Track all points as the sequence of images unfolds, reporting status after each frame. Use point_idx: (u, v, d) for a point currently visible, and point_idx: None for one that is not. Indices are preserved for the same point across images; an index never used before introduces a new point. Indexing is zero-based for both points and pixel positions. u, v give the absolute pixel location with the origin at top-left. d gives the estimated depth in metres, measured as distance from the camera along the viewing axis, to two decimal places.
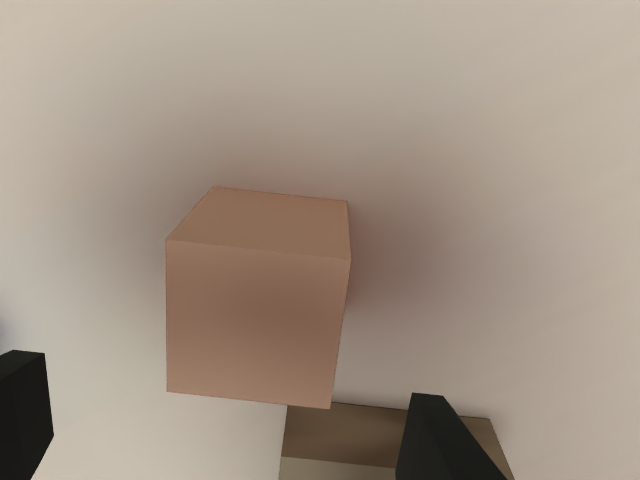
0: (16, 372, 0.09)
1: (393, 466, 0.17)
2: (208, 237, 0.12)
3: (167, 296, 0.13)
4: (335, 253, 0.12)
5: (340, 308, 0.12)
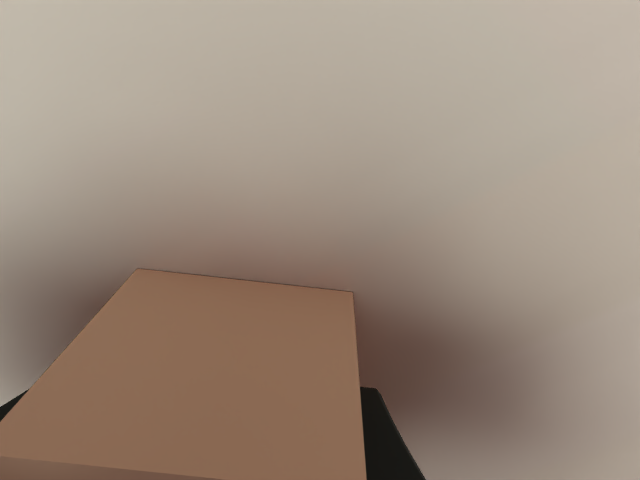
0: None
1: None
2: (74, 433, 0.06)
3: None
4: (334, 470, 0.06)
5: None
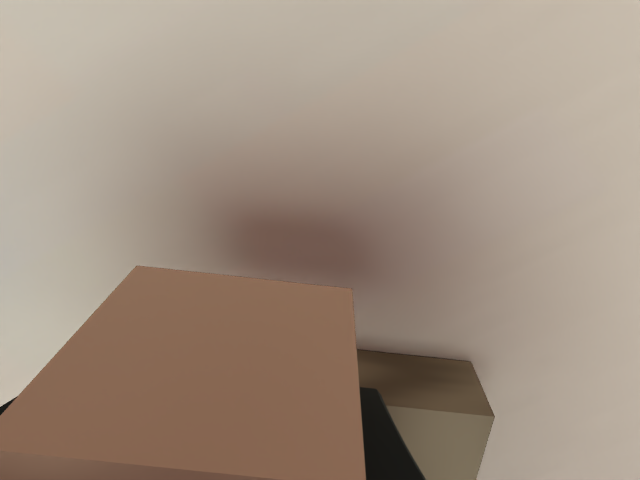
0: None
1: None
2: (73, 428, 0.06)
3: None
4: (332, 464, 0.06)
5: None
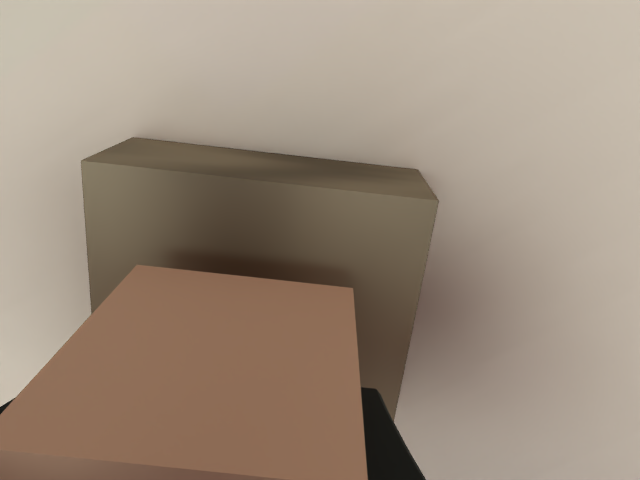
0: None
1: (254, 178, 0.11)
2: (73, 427, 0.06)
3: None
4: (334, 464, 0.06)
5: None
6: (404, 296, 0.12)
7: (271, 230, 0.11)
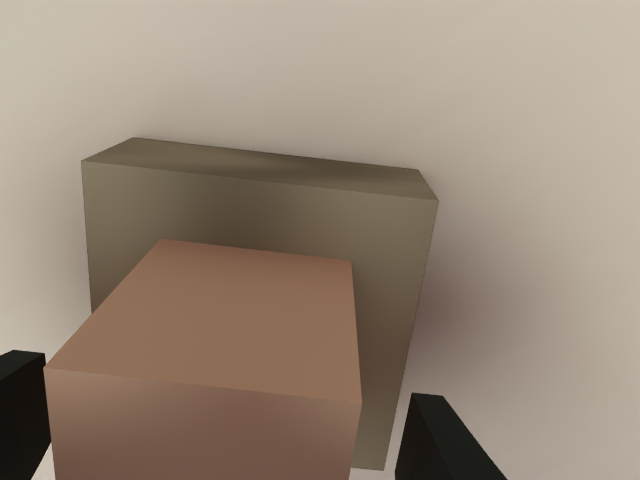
0: (16, 372, 0.09)
1: (254, 178, 0.11)
2: (122, 357, 0.07)
3: (56, 450, 0.08)
4: (334, 387, 0.07)
5: (342, 474, 0.07)
6: (404, 296, 0.12)
7: (271, 230, 0.11)
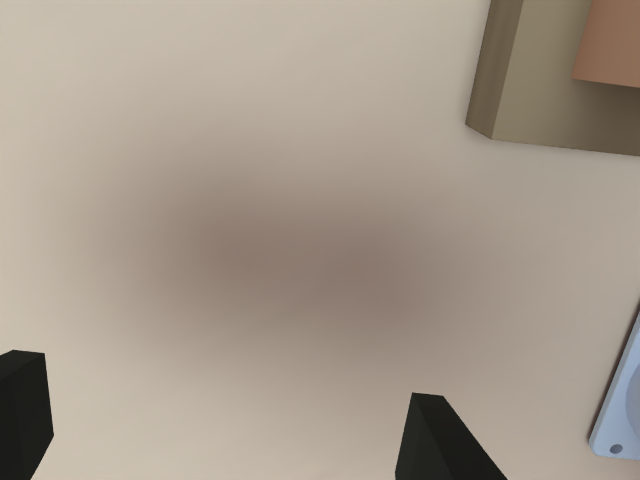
0: (16, 372, 0.09)
1: None
2: None
3: None
4: None
5: None
6: None
7: None
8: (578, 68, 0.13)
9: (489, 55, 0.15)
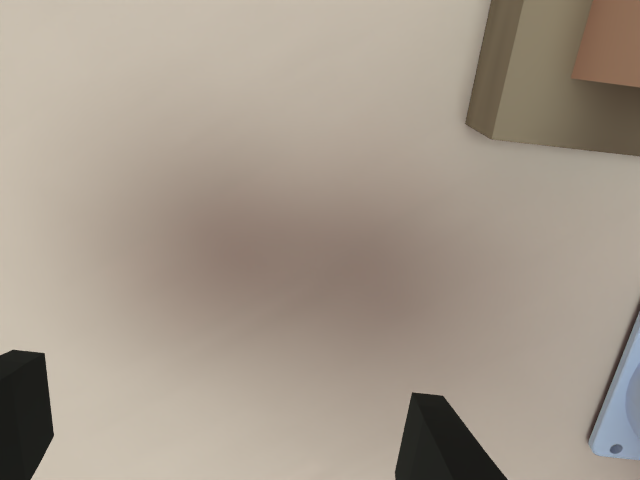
0: (16, 372, 0.09)
1: None
2: None
3: None
4: None
5: None
6: None
7: None
8: (578, 68, 0.13)
9: (490, 55, 0.15)
